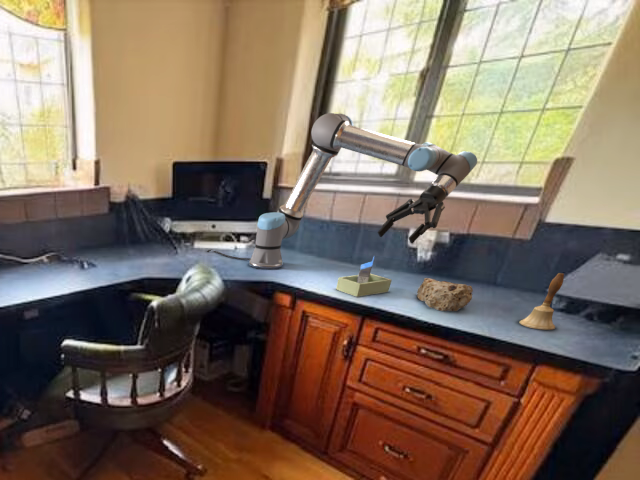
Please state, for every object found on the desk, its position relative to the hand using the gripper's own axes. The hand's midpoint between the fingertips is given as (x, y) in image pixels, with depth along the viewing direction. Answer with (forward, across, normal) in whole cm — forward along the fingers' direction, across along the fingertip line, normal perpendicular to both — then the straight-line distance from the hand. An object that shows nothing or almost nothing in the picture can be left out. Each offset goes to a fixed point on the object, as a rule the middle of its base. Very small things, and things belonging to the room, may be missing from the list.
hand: (394, 237), depth 158 cm
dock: (+20, 0, -7) cm, 22 cm away
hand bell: (+7, -49, -20) cm, 54 cm away
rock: (+11, -23, -16) cm, 30 cm away
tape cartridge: (+20, 0, -6) cm, 21 cm away
